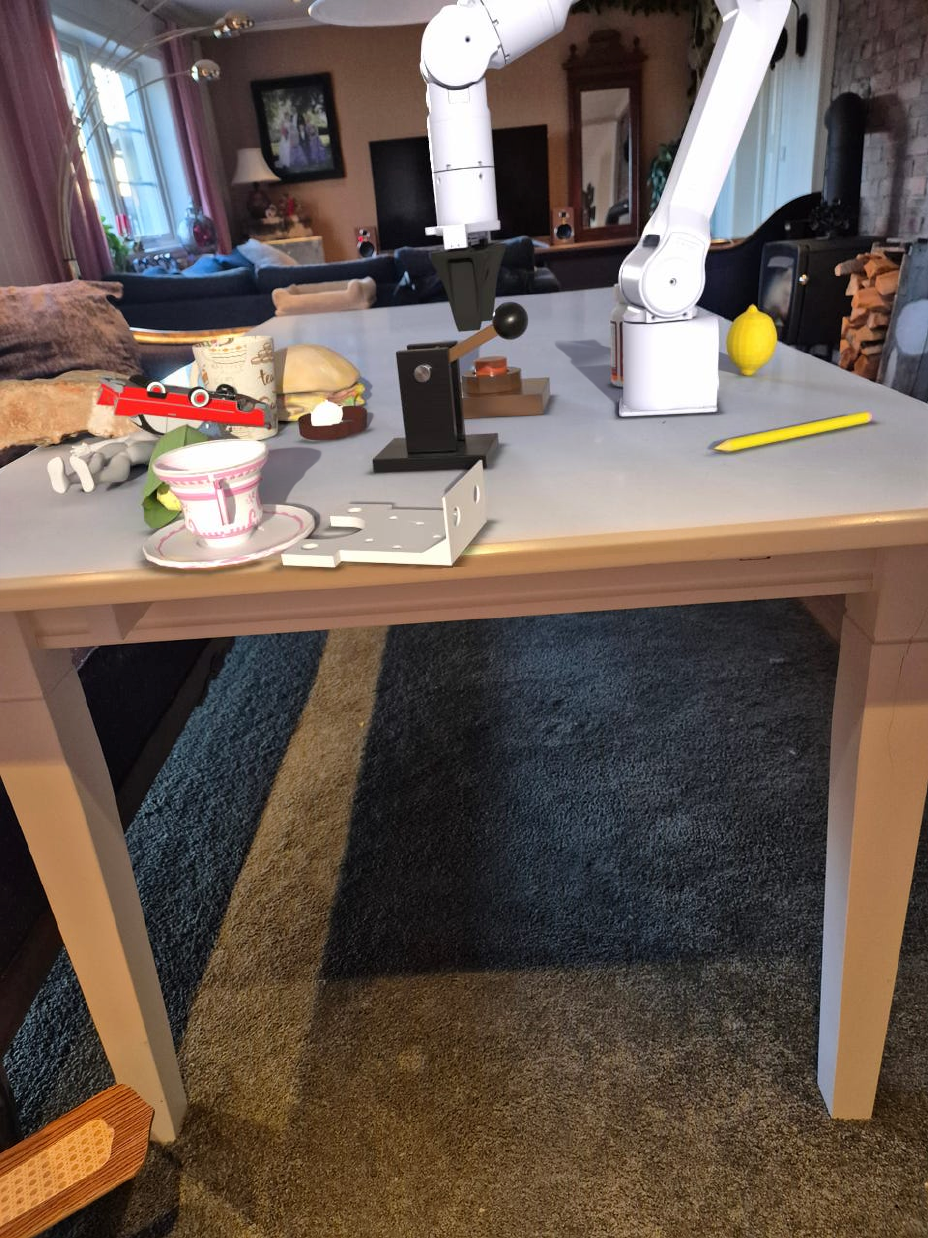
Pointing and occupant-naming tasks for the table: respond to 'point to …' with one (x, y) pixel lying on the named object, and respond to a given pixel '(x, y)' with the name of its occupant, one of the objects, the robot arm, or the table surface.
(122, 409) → the toy car
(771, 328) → the fruit
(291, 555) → the bracket
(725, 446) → the pencil
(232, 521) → the teacup
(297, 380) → the burger
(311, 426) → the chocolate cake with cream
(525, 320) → the lever
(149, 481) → the edible corn
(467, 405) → the button block
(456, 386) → the lever stand
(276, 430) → the mug
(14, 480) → the table surface
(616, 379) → the pill bottle
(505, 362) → the press button
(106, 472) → the character figure
